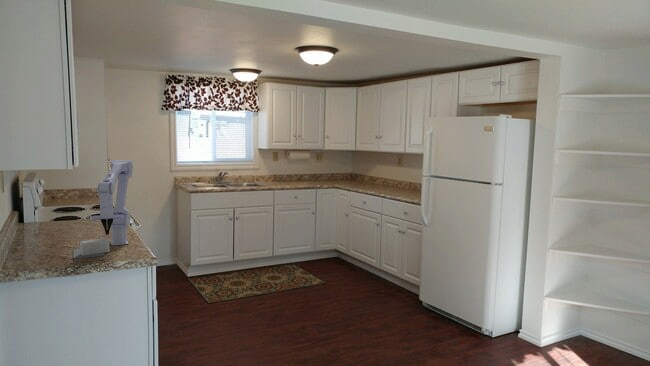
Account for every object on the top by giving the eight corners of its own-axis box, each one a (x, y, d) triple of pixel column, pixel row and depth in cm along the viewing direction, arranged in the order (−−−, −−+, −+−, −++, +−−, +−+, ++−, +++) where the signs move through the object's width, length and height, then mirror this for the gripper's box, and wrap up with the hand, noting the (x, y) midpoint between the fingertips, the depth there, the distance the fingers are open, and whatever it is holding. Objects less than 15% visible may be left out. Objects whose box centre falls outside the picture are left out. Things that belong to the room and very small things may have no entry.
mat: (73, 250, 226) (73, 249, 226) (103, 247, 232) (103, 246, 232) (73, 258, 210) (73, 257, 210) (104, 256, 216) (104, 255, 216)
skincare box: (105, 237, 224) (79, 241, 215) (109, 239, 221) (83, 243, 213) (105, 249, 225) (79, 253, 216) (109, 252, 222) (82, 256, 213)
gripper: (89, 208, 216) (90, 237, 217) (123, 207, 223) (124, 234, 224) (89, 206, 222) (90, 234, 223) (122, 205, 229) (122, 232, 230)
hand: (107, 234), depth 224 cm, fingers closed
